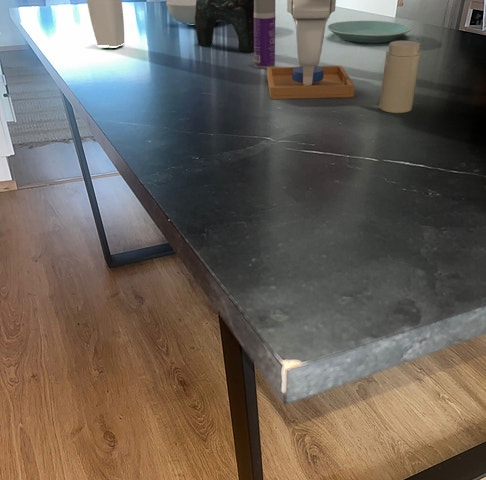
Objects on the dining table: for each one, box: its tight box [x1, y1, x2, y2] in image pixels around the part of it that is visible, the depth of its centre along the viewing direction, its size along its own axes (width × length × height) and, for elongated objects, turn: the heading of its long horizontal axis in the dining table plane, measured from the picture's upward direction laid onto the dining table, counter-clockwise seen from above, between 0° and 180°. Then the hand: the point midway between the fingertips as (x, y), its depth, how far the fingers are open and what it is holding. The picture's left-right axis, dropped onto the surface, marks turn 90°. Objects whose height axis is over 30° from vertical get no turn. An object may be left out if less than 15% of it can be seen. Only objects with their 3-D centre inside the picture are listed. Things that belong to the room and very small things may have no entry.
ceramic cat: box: [194, 0, 254, 54], centre depth 130 cm, size 20×6×20 cm, turn 51°
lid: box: [292, 65, 324, 83], centre depth 103 cm, size 6×6×2 cm
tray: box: [266, 65, 355, 100], centre depth 104 cm, size 16×16×2 cm
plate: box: [326, 20, 412, 44], centre depth 142 cm, size 22×22×3 cm
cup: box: [86, 0, 125, 46], centre depth 136 cm, size 7×7×15 cm
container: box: [253, 0, 276, 70], centre depth 115 cm, size 5×5×15 cm
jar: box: [378, 40, 422, 114], centre depth 90 cm, size 6×6×10 cm
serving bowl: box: [165, 0, 222, 24], centre depth 165 cm, size 21×21×7 cm
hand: (307, 79), depth 104 cm, fingers closed on lid, 6 cm apart
